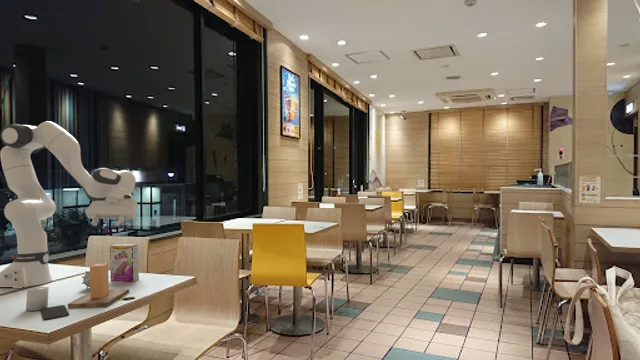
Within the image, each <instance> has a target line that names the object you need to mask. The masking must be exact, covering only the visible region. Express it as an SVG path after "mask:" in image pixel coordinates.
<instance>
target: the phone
mask: <svg viewBox="0 0 640 360" xmlns="http://www.w3.org/2000/svg"><path fill="white" fill-rule="evenodd" d="M40 313H41V317H42V320H43V321H50V320H54V319H60V318H66V317H68V316H70V313H69V311H68V308H66V305H64V304H62V305H61V304H60V305H55V306H49V307H47V308H44V309H41V310H40Z"/></svg>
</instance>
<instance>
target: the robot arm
mask: <svg viewBox="0 0 640 360" xmlns="http://www.w3.org/2000/svg"><path fill="white" fill-rule="evenodd" d="M0 140H1V142H2V143H3V144H4V145H5V146H3V147H2V148H1V150H0V162H1V168H2V171H3V174H4V177H5V181H6V184H7V186H8V188H9V189H10V191H12V192H14V194H15V195H16V196H17V197H18V198H17V199H16V198H15V199H13V200H10V201H9V202H8V203H6V205H5V207H4V210H3V211H4V212H3V213H4V216H5V218H6V220H8V221H9V222H10V223H11V224H12V226H13V229H14V231H15V235H16V244H17V246H16V247H17V253H15V254H14V255H12V256H11V259H13V262H11V263H10V264H9V265H8V266H7V267H5V268H3V269H2V270H1V271H0V287H13V288H12V289H23V287H24V288H28V287H29V288H30V287H34V286H39V285H40V286H41V285H45V284H48V283H50V282H52V281H53V278H52V276H51V272H50V267H49V259H50V257H49V254H50V253H49V250H48V235H47V232H46V231H45V230H44V229H43V227H42V224H41V221H43V220H46V219H48V218H50V217H51V216H53V215H54V214H55V212H56V210H57V206H56V203H55V201H54V200H53V199H51V198H50V197H49V196H48V194H47V193H46V192H45V190H44V188H43V187H42V186H41V184H40V182H39V180H38V178H37V174H36V171H35V168H34V165H33V162H32V159H31V154H32V153H33V154H37V153H38V152H40V151H42V150H43V149H47V150H49V152H51V153H52V154H53V155H54V156H55V158H56V159H57V160H58V161H59V162H60V163H61V165H62V167H63V169H64V170H65V171H66V172H67V173H68V174H69V175H70V176H71V178H72V179H73V180H74V181H75V182H76V183H77V184H78V185H79V186H80V187H81V189H82V190H83V191H84V194H85V196H86V197H87V198H88V200H90V201H91V203H90V205H89V206H88V207H87V208H86V210H85V211H84V213H85V215H86V217H87V218H88V219H92V220H91V221H92V222H91V226H93V227H97V225H98V223H99V222H98V219H100V220H101V219H102V220H115V221H114V224H113V225H114V226H115V227H120V224H121V223H123V222H124V221H125V220H133V219H135V217H136V215H137V210H138V209H137V208H138V207H139V206H138V202H137V200H136V198H135V197H134V196H133V195H132V193H133V192H134V189H135V186H136V177H135V175H134V174H133V173H132V172H130V171H128V170H120V171H119V170H118V171H117V170H111V169H109V168H107V167H99V168H96V169H95V170H94V171H92V174H89V172H88V171H87V169H85V168H84V165H83V163H82V156H81V145H80V144H79V142H78V140H76V138H75V137H74V136H73V135H72V134H71V133H69V132H68V131H67V130H66V129H64V128H63V127H62V126H60V125H58V124H57V123H55V122H53V121H48V120H47V121H44V122H41V123H40V124H39V125H31V124H18V123H14V124H8V125H6V126H4V127H3V128H2V130H1V132H0Z"/></svg>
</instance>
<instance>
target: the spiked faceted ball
mask: <svg viewBox="0 0 640 360" xmlns="http://www.w3.org/2000/svg"><path fill="white" fill-rule="evenodd" d="M81 278H83V280H82V282H81V285H83V284H84V285H85V286H86V288H85V289H88V288H90V270H89V271H87V270H85V274H84V276H82V277H81Z"/></svg>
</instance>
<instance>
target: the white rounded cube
mask: <svg viewBox="0 0 640 360" xmlns="http://www.w3.org/2000/svg"><path fill="white" fill-rule="evenodd" d="M48 302H49V286H37V287H31V288H30V287H29V288H27V290H26V303H25V304H26V305H25V310H26V311H30V312H32V311H33V312H34V311H41V309H44V308H48V306H49V303H48Z"/></svg>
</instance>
